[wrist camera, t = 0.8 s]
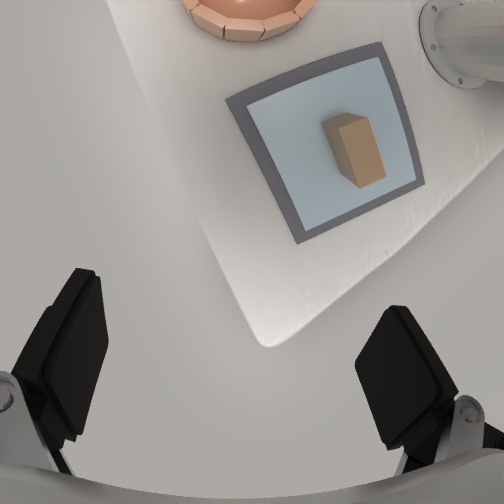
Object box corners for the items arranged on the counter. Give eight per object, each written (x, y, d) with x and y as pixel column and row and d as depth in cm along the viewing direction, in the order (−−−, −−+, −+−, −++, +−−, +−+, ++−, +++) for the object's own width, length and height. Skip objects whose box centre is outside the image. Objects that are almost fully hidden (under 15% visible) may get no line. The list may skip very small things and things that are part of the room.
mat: (379, 42, 24) (381, 41, 24) (423, 183, 33) (425, 184, 32) (224, 99, 27) (224, 99, 26) (296, 243, 35) (297, 244, 35)
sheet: (375, 57, 25) (403, 53, 20) (413, 177, 32) (440, 194, 27) (245, 106, 27) (250, 108, 22) (304, 228, 34) (318, 253, 29)
